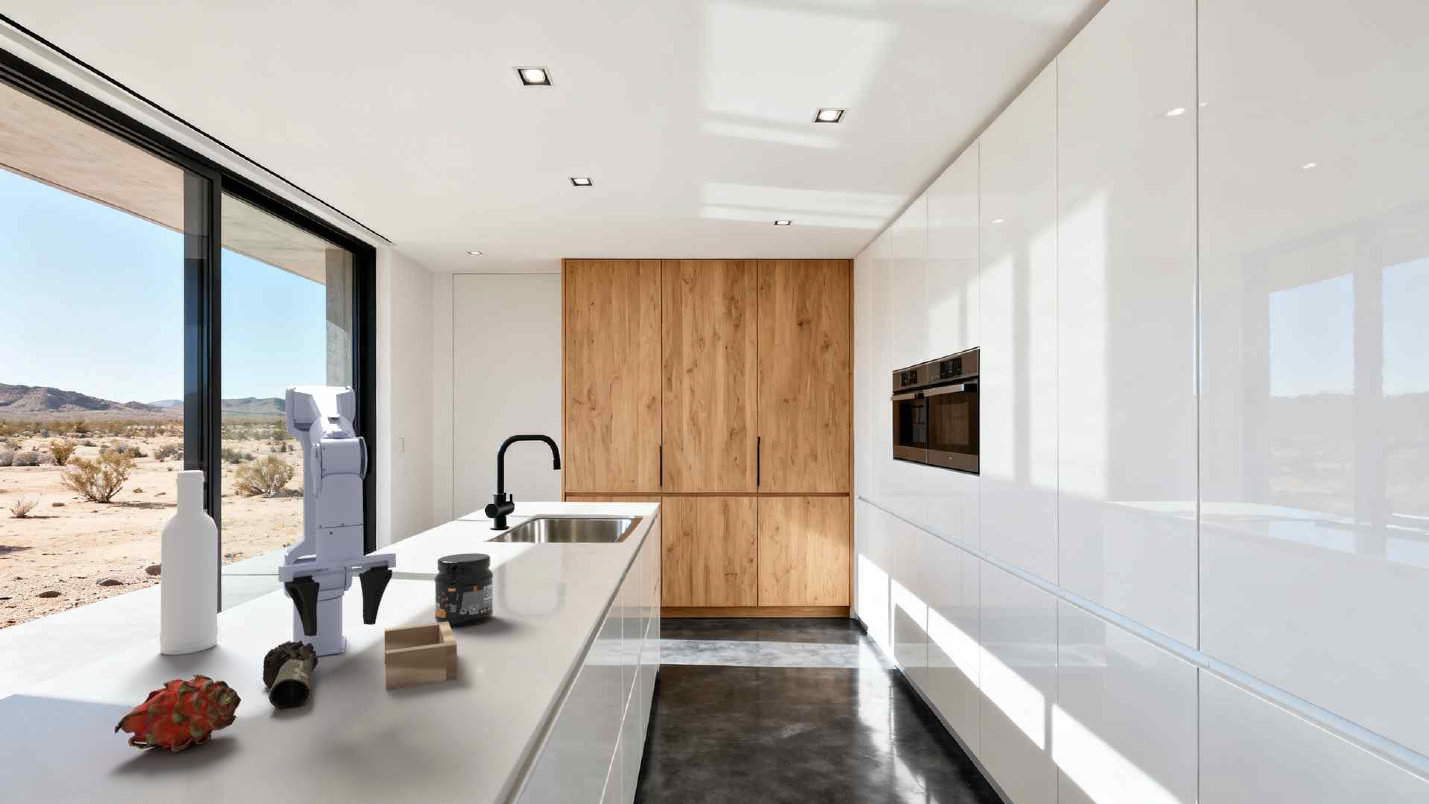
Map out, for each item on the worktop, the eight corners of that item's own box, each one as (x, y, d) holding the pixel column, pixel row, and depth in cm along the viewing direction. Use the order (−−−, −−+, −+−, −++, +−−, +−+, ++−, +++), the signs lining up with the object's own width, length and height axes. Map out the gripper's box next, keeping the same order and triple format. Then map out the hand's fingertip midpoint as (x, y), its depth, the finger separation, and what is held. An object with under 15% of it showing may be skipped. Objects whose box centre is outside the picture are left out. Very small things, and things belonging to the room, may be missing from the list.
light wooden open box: (384, 660, 115) (384, 628, 115) (448, 652, 119) (448, 621, 119) (385, 689, 102) (385, 653, 103) (456, 678, 106) (456, 644, 107)
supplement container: (432, 617, 141) (432, 555, 141) (489, 611, 145) (488, 550, 146) (436, 631, 131) (436, 564, 132) (497, 624, 136) (496, 559, 136)
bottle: (206, 638, 129) (207, 469, 130) (225, 645, 124) (226, 470, 125) (152, 650, 122) (153, 471, 123) (170, 658, 118) (171, 473, 119)
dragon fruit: (249, 748, 88) (124, 789, 82) (245, 690, 94) (128, 724, 88) (237, 706, 83) (103, 747, 77) (233, 648, 89) (109, 681, 83)
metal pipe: (310, 708, 97) (310, 666, 97) (251, 718, 94) (251, 674, 94) (319, 667, 113) (319, 631, 113) (268, 675, 110) (268, 637, 110)
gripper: (293, 531, 91) (294, 643, 89) (405, 521, 102) (408, 621, 100) (272, 532, 95) (272, 639, 93) (381, 522, 106) (383, 618, 105)
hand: (340, 629), depth 97 cm, fingers open, 7 cm apart
